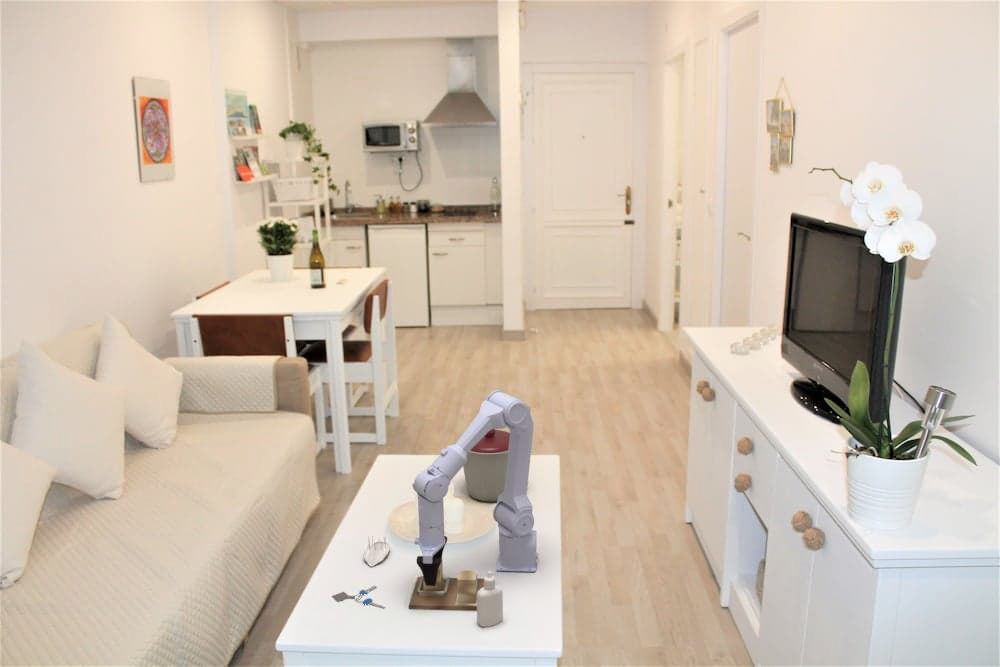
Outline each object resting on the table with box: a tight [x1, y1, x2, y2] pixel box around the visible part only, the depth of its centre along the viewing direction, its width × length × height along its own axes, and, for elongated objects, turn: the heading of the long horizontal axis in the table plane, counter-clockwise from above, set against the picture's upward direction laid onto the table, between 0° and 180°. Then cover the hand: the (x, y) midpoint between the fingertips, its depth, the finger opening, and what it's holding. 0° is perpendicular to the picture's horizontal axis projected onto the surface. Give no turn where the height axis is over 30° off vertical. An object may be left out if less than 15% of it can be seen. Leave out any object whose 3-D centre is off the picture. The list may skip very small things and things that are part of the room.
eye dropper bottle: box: [476, 570, 504, 628], centre depth 180 cm, size 4×6×12 cm
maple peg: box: [423, 560, 444, 591], centre depth 193 cm, size 4×4×6 cm
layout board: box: [408, 569, 484, 612], centre depth 191 cm, size 16×12×7 cm
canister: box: [462, 429, 510, 503], centre depth 243 cm, size 18×18×21 cm
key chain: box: [331, 585, 386, 609], centre depth 193 cm, size 14×8×1 cm, turn 75°
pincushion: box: [363, 535, 391, 567], centre depth 210 cm, size 12×6×6 cm, turn 174°
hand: (433, 576), depth 193 cm, fingers open, 7 cm apart
